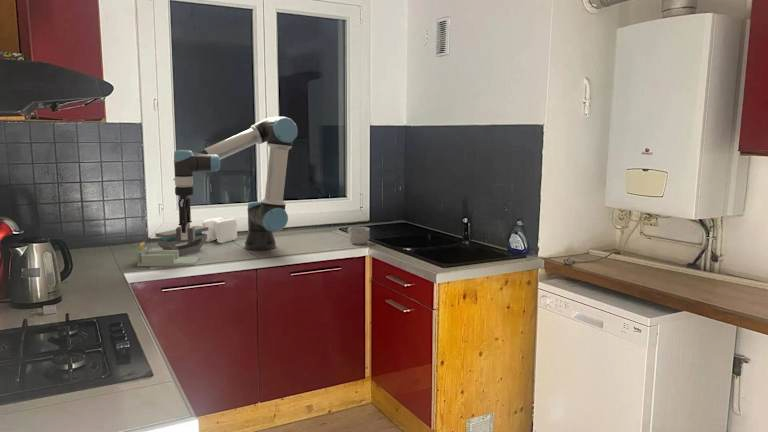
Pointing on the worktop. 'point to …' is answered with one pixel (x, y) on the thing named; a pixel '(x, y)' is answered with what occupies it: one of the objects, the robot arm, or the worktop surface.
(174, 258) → the header
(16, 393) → the worktop surface
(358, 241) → the teacup
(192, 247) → the sharpening stone
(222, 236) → the cable organizer
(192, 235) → the plug
